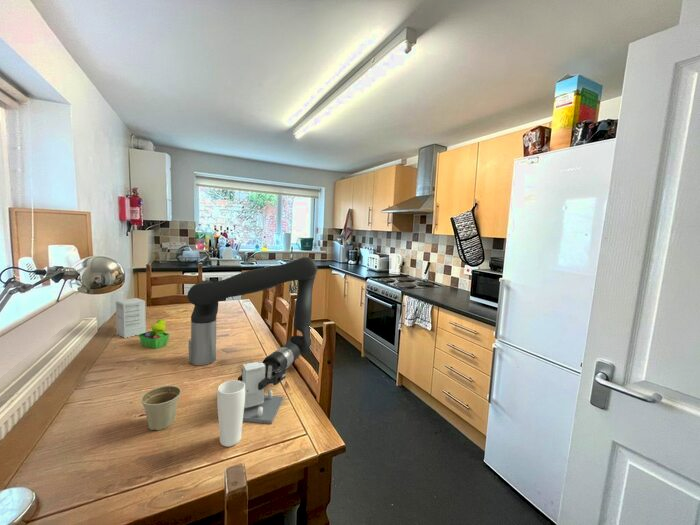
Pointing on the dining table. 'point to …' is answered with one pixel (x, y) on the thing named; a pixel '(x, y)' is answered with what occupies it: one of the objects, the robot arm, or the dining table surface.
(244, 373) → the skincare box
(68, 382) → the dining table surface
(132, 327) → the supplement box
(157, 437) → the dining table surface
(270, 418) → the pin tray
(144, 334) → the fruit basket
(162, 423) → the flower pot
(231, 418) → the drinking glass
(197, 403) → the dining table surface
